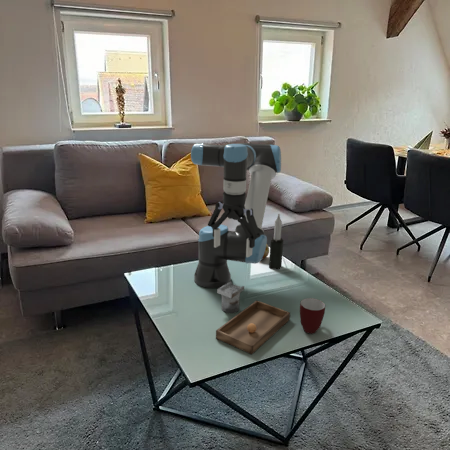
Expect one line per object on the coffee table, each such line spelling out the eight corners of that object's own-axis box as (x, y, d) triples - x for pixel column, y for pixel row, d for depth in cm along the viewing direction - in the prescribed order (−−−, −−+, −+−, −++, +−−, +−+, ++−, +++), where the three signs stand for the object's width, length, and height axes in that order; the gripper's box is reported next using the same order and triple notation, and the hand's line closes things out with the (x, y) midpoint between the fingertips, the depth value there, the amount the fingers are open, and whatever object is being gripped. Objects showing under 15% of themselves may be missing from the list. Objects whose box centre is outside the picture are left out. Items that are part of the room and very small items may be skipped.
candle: (281, 265, 188) (285, 212, 180) (279, 270, 183) (283, 216, 175) (270, 263, 189) (274, 211, 181) (268, 268, 185) (271, 214, 177)
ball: (259, 325, 136) (256, 334, 135) (251, 324, 138) (249, 333, 137) (254, 322, 134) (252, 331, 133) (247, 321, 136) (244, 330, 135)
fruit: (258, 263, 190) (258, 246, 187) (249, 256, 197) (250, 240, 194) (272, 260, 193) (273, 244, 190) (263, 254, 200) (264, 238, 197)
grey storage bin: (216, 310, 150) (217, 289, 147) (229, 301, 156) (230, 281, 153) (230, 316, 146) (231, 294, 143) (243, 307, 152) (244, 286, 149)
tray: (215, 338, 133) (216, 330, 132) (256, 307, 152) (256, 300, 151) (251, 354, 126) (252, 346, 125) (289, 320, 145) (290, 312, 144)
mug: (302, 318, 146) (305, 292, 143) (325, 323, 143) (328, 298, 140) (295, 333, 137) (297, 307, 134) (319, 339, 134) (322, 312, 131)
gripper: (198, 187, 141) (198, 245, 148) (260, 201, 127) (257, 264, 134) (211, 183, 147) (210, 239, 154) (273, 196, 133) (269, 256, 140)
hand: (232, 251), depth 144 cm, fingers open, 13 cm apart
